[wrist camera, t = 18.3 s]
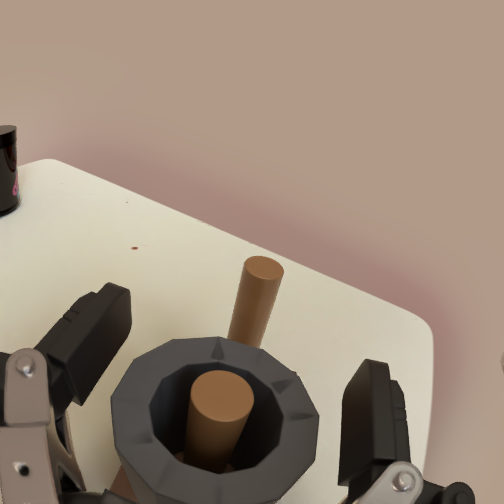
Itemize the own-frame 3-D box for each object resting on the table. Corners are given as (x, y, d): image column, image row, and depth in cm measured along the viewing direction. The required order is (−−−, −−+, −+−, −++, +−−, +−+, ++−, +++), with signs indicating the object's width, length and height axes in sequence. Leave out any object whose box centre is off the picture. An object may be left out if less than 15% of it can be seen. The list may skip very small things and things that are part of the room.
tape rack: (183, 352, 22) (198, 221, 17) (290, 384, 22) (346, 262, 16) (112, 498, 12) (55, 407, 7) (260, 544, 11) (353, 499, 6)
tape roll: (271, 449, 15) (323, 364, 11) (247, 551, 10) (306, 529, 6) (160, 415, 16) (160, 316, 12) (117, 509, 10) (75, 455, 6)
